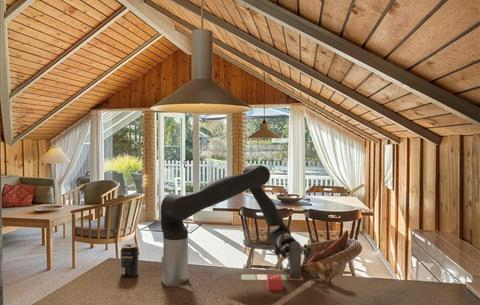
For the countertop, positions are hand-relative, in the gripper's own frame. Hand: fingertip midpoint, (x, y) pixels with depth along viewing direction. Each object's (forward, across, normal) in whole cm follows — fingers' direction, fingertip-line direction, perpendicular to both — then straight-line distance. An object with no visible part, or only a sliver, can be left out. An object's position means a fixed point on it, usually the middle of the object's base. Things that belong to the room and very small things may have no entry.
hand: (296, 255), depth 139 cm
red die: (+8, -10, +10) cm, 16 cm away
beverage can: (-12, -65, +11) cm, 67 cm away
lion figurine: (0, +11, +11) cm, 16 cm away
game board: (-2, -9, +10) cm, 14 cm away
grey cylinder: (-2, 0, +9) cm, 9 cm away
